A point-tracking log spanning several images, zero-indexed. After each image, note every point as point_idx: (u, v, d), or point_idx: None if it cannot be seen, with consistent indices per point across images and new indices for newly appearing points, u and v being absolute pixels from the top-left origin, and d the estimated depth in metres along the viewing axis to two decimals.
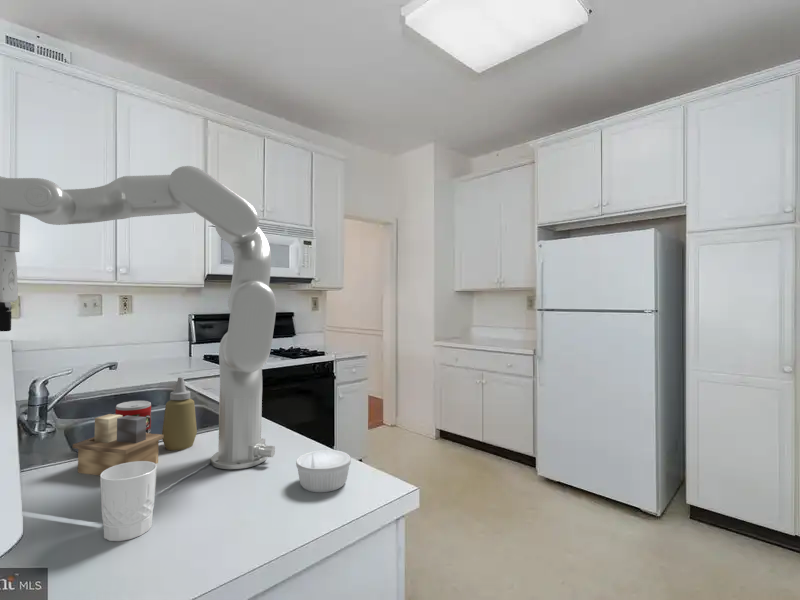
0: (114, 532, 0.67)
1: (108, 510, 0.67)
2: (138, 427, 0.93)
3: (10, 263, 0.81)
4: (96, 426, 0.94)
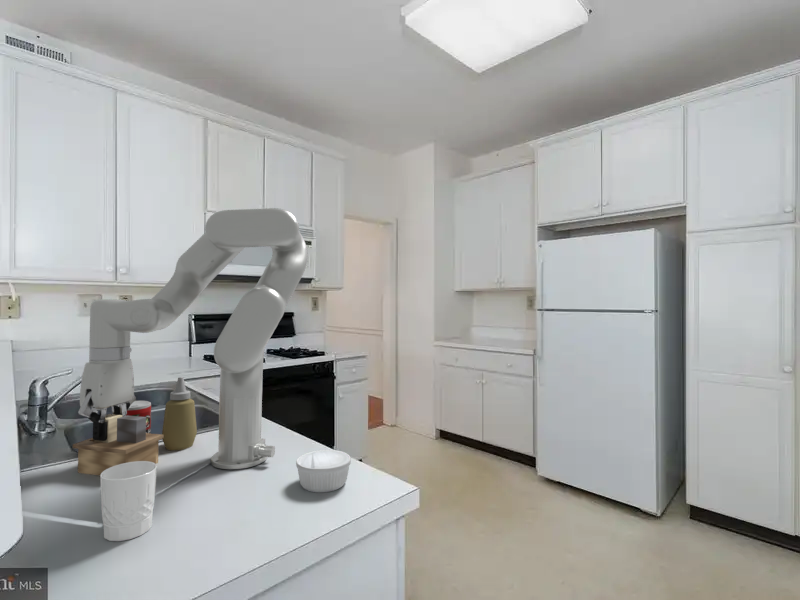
0: (114, 532, 0.67)
1: (108, 510, 0.67)
2: (138, 427, 0.93)
3: None
4: None
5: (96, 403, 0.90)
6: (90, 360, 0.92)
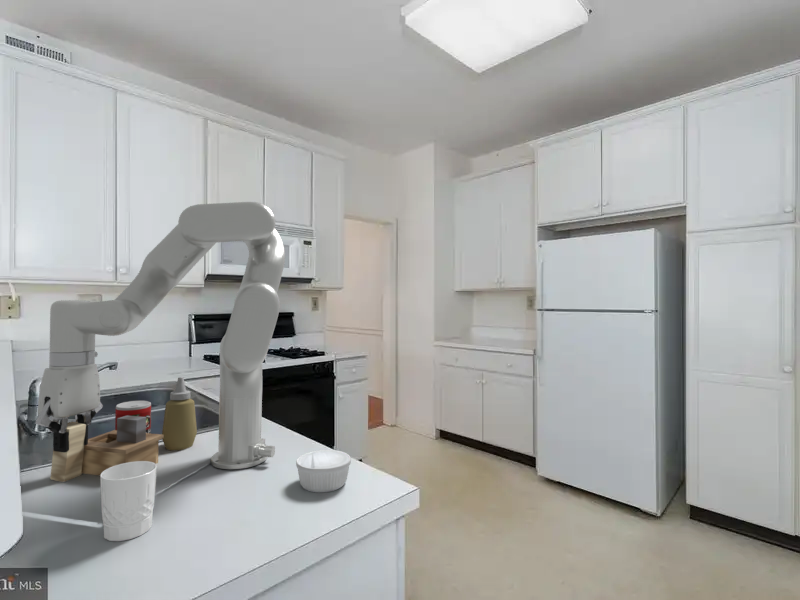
0: (114, 532, 0.67)
1: (108, 510, 0.67)
2: (138, 427, 0.93)
3: None
4: None
5: (55, 412, 0.84)
6: (50, 366, 0.86)
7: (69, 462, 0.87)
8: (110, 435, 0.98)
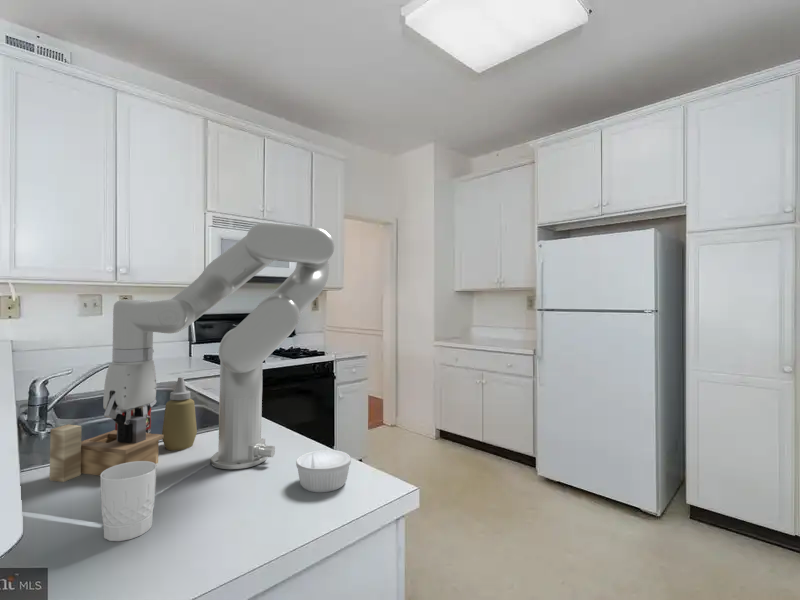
0: (114, 532, 0.67)
1: (108, 510, 0.67)
2: (138, 427, 0.93)
3: None
4: (51, 437, 0.87)
5: (120, 405, 0.89)
6: (113, 361, 0.91)
7: (67, 464, 0.87)
8: (110, 435, 0.98)
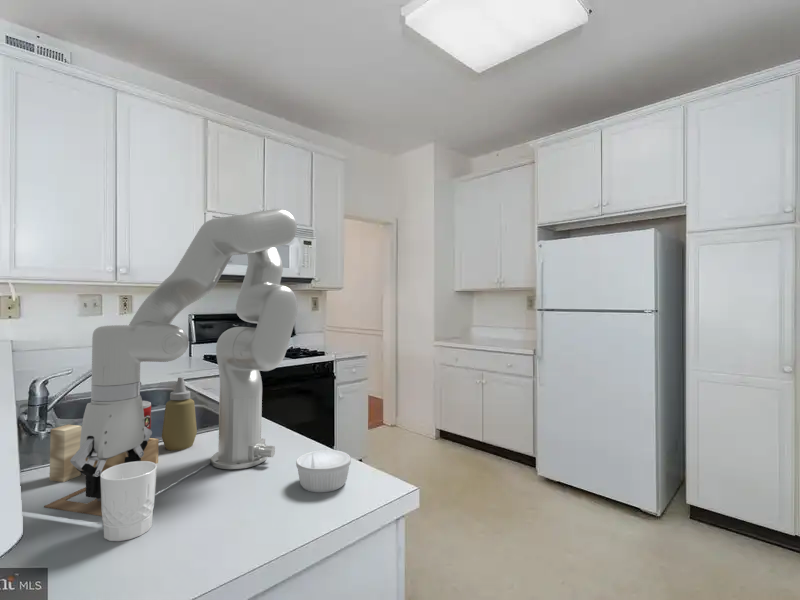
0: (114, 532, 0.67)
1: (108, 510, 0.67)
2: None
3: None
4: (51, 437, 0.87)
5: (100, 453, 0.74)
6: (92, 400, 0.76)
7: (67, 464, 0.87)
8: None
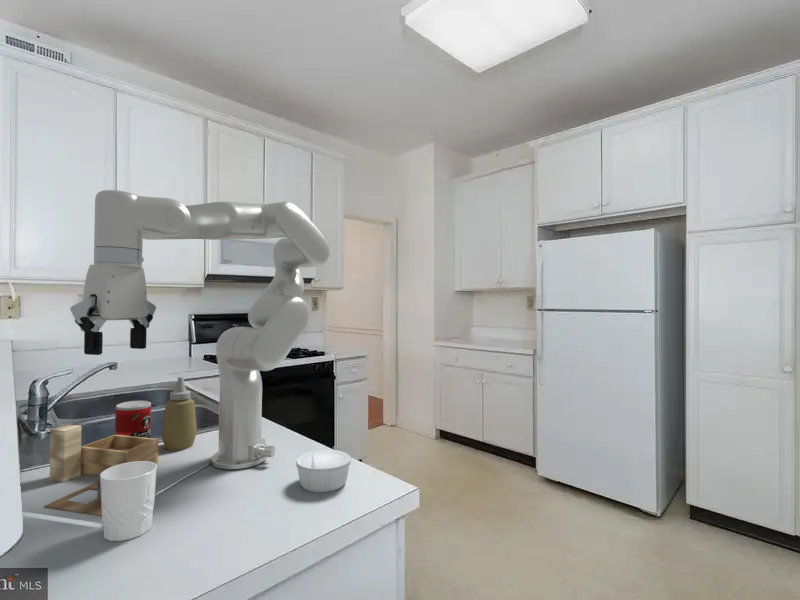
0: (114, 532, 0.67)
1: (108, 510, 0.67)
2: None
3: None
4: (51, 437, 0.87)
5: (102, 311, 0.74)
6: (95, 262, 0.76)
7: (67, 464, 0.87)
8: None
